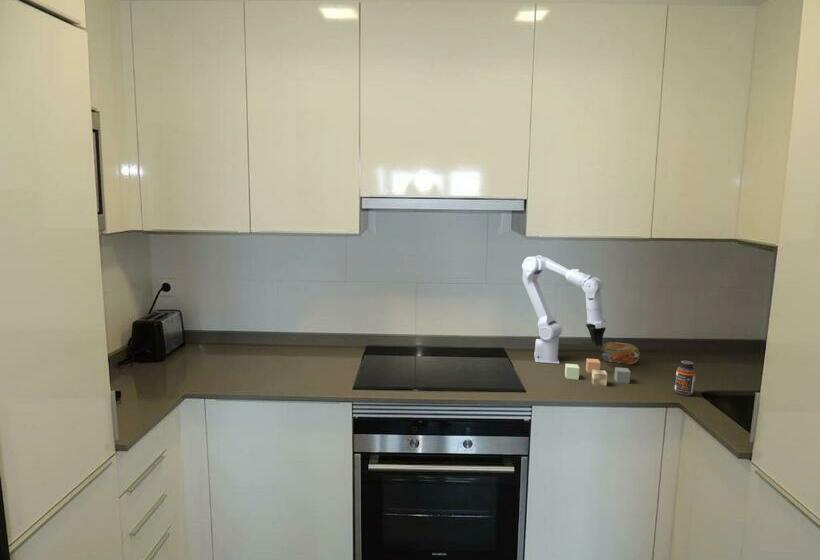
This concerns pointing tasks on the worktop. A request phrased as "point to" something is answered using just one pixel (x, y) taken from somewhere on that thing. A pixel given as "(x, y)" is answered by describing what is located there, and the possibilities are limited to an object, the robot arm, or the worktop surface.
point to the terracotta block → (592, 365)
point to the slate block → (622, 375)
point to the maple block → (599, 377)
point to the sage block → (572, 371)
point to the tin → (620, 352)
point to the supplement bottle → (685, 378)
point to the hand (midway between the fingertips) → (596, 343)
